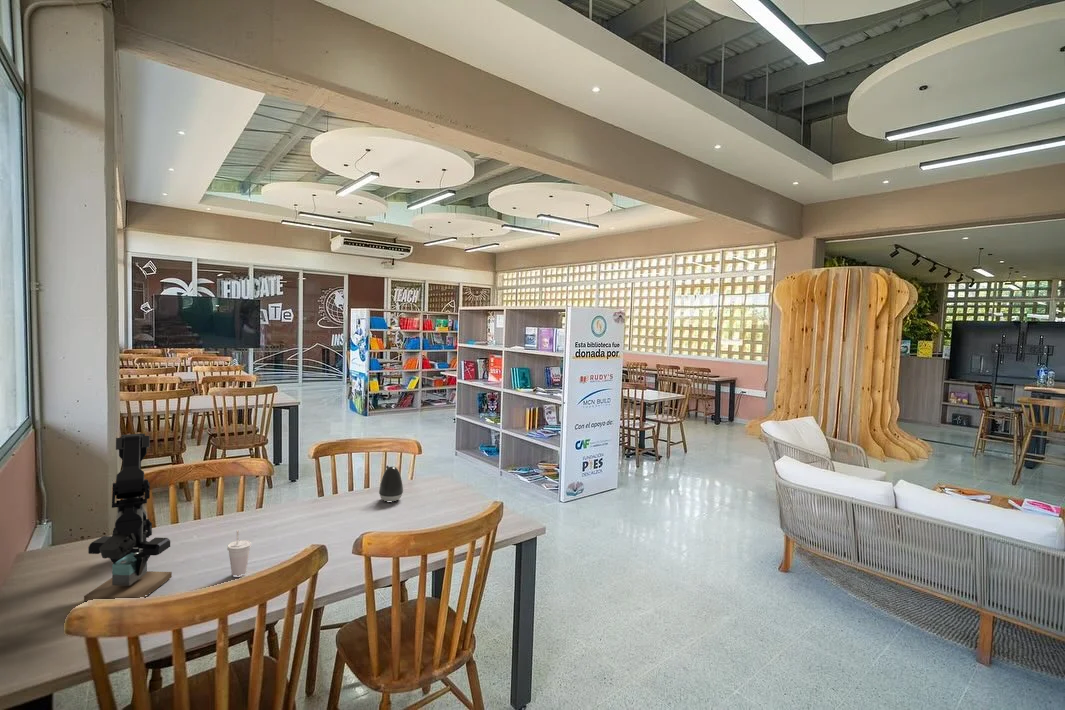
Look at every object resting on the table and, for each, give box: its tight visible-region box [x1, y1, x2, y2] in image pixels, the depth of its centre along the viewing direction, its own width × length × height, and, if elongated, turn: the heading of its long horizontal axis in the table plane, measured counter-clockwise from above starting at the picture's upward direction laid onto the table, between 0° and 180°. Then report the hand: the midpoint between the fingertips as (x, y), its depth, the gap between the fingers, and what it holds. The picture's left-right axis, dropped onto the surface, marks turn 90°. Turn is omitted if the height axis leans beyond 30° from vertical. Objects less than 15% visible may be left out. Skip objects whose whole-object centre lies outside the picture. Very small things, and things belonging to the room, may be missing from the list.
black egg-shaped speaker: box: [378, 465, 404, 502], centre depth 226 cm, size 10×10×15 cm
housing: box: [111, 552, 148, 586], centre depth 145 cm, size 7×4×6 cm, turn 3°
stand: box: [83, 570, 173, 603], centre depth 145 cm, size 14×14×2 cm
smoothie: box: [226, 530, 252, 578], centre depth 156 cm, size 6×6×14 cm
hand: (130, 574), depth 145 cm, fingers closed on housing, 4 cm apart
